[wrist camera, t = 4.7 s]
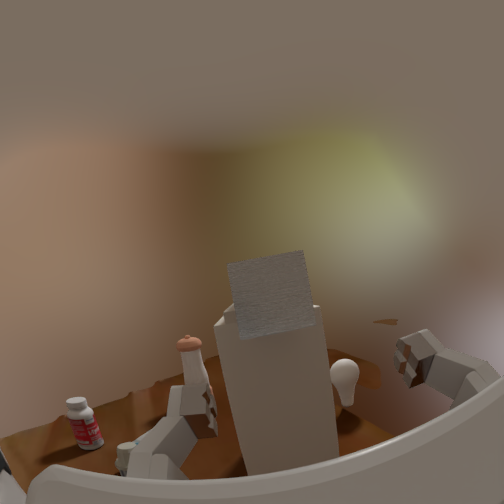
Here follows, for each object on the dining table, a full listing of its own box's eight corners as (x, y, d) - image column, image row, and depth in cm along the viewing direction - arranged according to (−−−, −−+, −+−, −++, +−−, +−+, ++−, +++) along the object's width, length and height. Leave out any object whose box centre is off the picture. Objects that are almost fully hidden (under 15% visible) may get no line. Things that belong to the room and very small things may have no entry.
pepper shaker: (208, 405, 66) (192, 336, 69) (184, 404, 68) (168, 338, 70) (218, 395, 73) (204, 331, 76) (195, 395, 75) (181, 334, 77)
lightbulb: (364, 409, 47) (360, 360, 49) (335, 415, 48) (329, 367, 49) (358, 398, 53) (354, 352, 55) (332, 404, 54) (326, 359, 55)
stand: (342, 514, 20) (313, 271, 24) (264, 531, 20) (206, 290, 23) (303, 426, 46) (279, 281, 50) (257, 435, 46) (228, 290, 50)
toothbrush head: (191, 409, 56) (126, 448, 32) (196, 435, 54) (137, 482, 30) (170, 409, 56) (102, 443, 33) (176, 434, 55) (113, 476, 31)
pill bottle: (98, 452, 39) (80, 405, 41) (75, 449, 39) (57, 403, 40) (108, 439, 45) (93, 395, 47) (86, 438, 45) (71, 395, 46)
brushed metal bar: (316, 325, 14) (302, 250, 15) (240, 340, 14) (226, 263, 15) (271, 302, 42) (267, 276, 43) (245, 307, 42) (240, 280, 42)
